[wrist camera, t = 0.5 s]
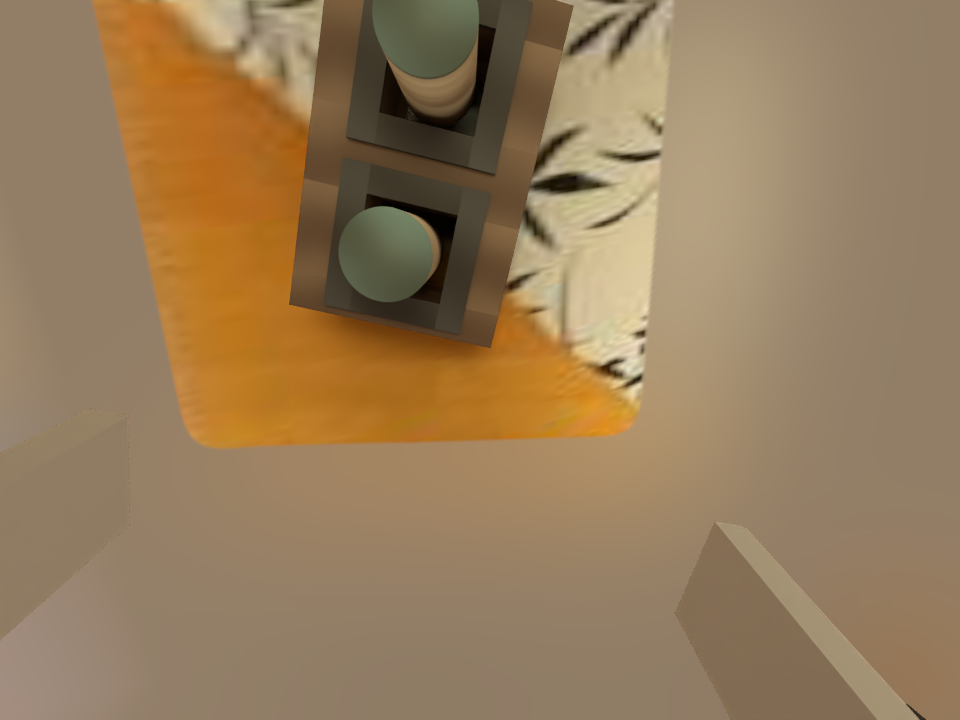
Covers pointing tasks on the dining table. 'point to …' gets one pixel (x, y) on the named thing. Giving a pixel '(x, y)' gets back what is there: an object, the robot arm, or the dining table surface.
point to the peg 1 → (431, 54)
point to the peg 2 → (389, 253)
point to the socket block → (425, 164)
